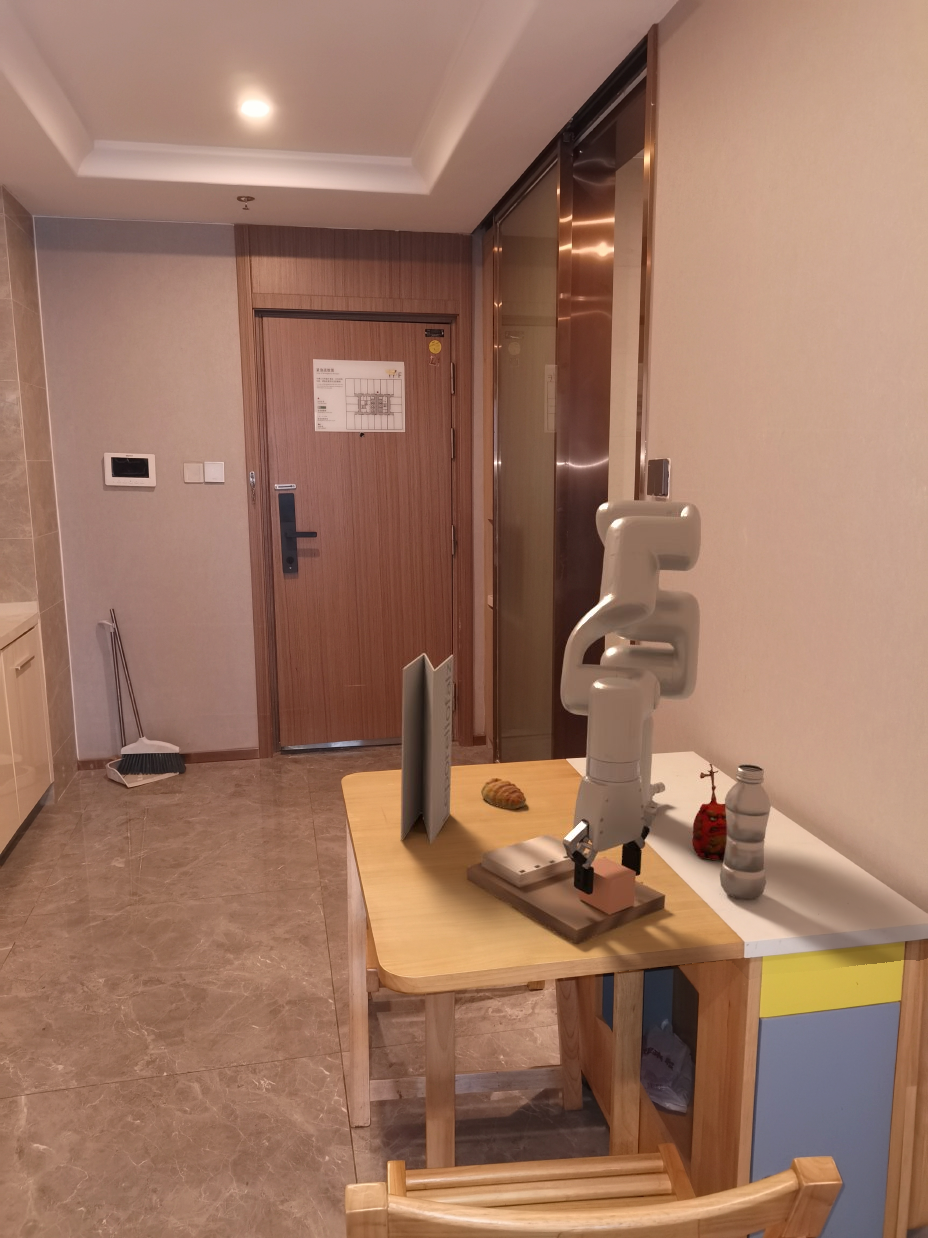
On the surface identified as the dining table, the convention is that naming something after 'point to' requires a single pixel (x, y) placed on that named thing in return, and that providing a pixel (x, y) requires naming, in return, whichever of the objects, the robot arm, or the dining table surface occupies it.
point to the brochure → (426, 744)
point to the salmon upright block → (611, 886)
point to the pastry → (503, 794)
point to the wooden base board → (553, 889)
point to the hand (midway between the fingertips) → (607, 881)
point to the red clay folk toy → (710, 827)
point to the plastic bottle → (745, 835)
